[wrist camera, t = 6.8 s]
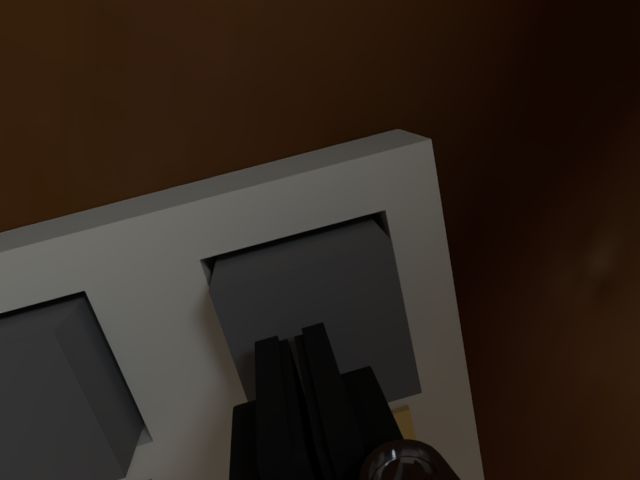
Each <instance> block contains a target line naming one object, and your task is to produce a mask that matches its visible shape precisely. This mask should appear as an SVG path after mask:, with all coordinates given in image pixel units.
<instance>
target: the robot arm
mask: <svg viewBox="0 0 640 480" xmlns="http://www.w3.org/2000/svg"><path fill="white" fill-rule="evenodd" d="M301 329H302V333H303V334H302V335H298V336H295V337H294V338H295V344H296V349H297V354H298V360H299V365H300V370H301V376H302V381H303V386H304V391H303V388H302V385H301V381H300V378H299V375H298V371H297V368H296V365H295V361H294V358H293V355H292V351H291V348H290V345H289V342H288V339H284V340H281V341H279V338H278V336H277V335H276V336H273V337H270V338H266V339H263V340H259V341H256V342H255V387H256V400H252V401H249V402H246V403H242V404H239V405H236V406H234V407H233V412H232V430H231V449H230V467H229V480H460V478H459V477H458V476H457V474H456V473H455V472H454V471H453V469H452V468H451V467H450V465H449V464H448V463H447V462H446V460H445V459H444V458H443V457H442V455H441V454H440V453H439V452H438V451H437V450H436V449H434V448H433V447H432V446H430V445H428V444H426V443H424V442H422V441H417V440H412V439H404V438H403V436H402V434H401V431H400V429H399V427H398V425H397V423H396V420H395V418H394V416H393V414H392V412H391V409H390V407H389V405H388V403H387V400H386V398H385V396H384V394H383V392H382V389H381V387H380V385H379V383H378V381H377V378H376V376H375V374H374V372H373V370H372V368H371V366H367V367H363V368H360V369H356V370H353V371H350V372H346V373H343V374H340V372H339V369H338V366H337V363H336V360H335V357H334V354H333V351H332V348H331V345H330V341H329V338H328V335H327V332H326V329H325V326H324V323H323V322H321V323H318V324H314V325H311V326H307V327H304V328H301ZM304 392H305V395H304ZM305 397H306V398H305Z"/></svg>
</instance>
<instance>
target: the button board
mask: <svg viewBox="0 0 640 480" xmlns="http://www.w3.org/2000/svg"><path fill="white" fill-rule="evenodd" d="M368 214H369V215H370V216H371V217H372V219H373V220H374V221H375V222H376V223H377V224H378V226H379V227H380V228H381V229H382V230H383V231H384V233H385V234H386V235H387V236H388V237H389V238H390V240H391V241H392V244H393V249H394V254H395V259H396V264H397V269H398V274H399V279H400V285H401V290H402V295H403V300H404V305H405V310H406V315H407V320H408V325H409V330H410V335H411V340H412V345H413V350H414V355H415V360H416V365H417V370H418V375H419V380H420V385H421V390H422V393H420V394H416V395H413V396H409V397H406V398H402V399H399V400H395V401H392V402H388V405H389V407H390V409H391V412H392V414H393V416H394V418H395V420H396V423H397V425H398V427H399V429H400V431H401V434H402V436H403V438H404V439H412V440H417V441H422V442H424V443H426V444H428V445H430V446H432V447H433V448H434V449H436V450H437V451H438V452H439V453H440V454H441V455H442V457H443V458H444V459H445V460H446V462H447V463H448V464H449V465H450V467H451V468H452V469H453V471H454V472H455V473H456V474H457V476H458V477H459V478H460V480H484V474H483V468H482V461H481V455H480V448H479V442H478V436H477V429H476V423H475V416H474V410H473V403H472V397H471V391H470V384H469V378H468V371H467V365H466V359H465V352H464V346H463V339H462V333H461V326H460V320H459V314H458V307H457V301H456V294H455V288H454V282H453V275H452V269H451V262H450V256H449V249H448V243H447V237H446V230H445V224H444V217H443V211H442V205H441V198H440V192H439V185H438V179H437V172H436V166H435V160H434V153H433V147H432V140H431V139H429V138H426V137H423V136H420V135H417V134H413V133H410V132H407V131H404V130H400V129H395V130H392V131H388V132H384V133H380V134H376V135H372V136H369V137H365V138H361V139H357V140H353V141H349V142H346V143H342V144H338V145H334V146H330V147H326V148H323V149H319V150H315V151H311V152H307V153H304V154H300V155H296V156H292V157H288V158H284V159H281V160H277V161H273V162H269V163H265V164H261V165H258V166H254V167H250V168H246V169H242V170H238V171H235V172H231V173H227V174H223V175H219V176H216V177H212V178H208V179H204V180H200V181H196V182H193V183H189V184H185V185H181V186H177V187H173V188H170V189H166V190H162V191H158V192H154V193H151V194H147V195H143V196H139V197H135V198H131V199H128V200H124V201H120V202H116V203H112V204H108V205H105V206H101V207H97V208H93V209H89V210H85V211H82V212H78V213H74V214H70V215H66V216H63V217H59V218H55V219H51V220H47V221H43V222H40V223H36V224H32V225H28V226H24V227H20V228H17V229H13V230H9V231H5V232H1V233H0V313H3V312H7V311H11V310H14V309H18V308H22V307H25V306H29V305H33V304H37V303H40V302H44V301H48V300H51V299H55V298H59V297H63V296H66V295H70V294H74V293H78V292H81V291H85V292H86V294H87V297H88V299H89V301H90V303H91V305H92V308H93V310H94V312H95V314H96V316H97V319H98V321H99V323H100V325H101V327H102V330H103V332H104V334H105V336H106V338H107V341H108V343H109V345H110V347H111V349H112V352H113V354H114V356H115V358H116V360H117V363H118V365H119V367H120V369H121V371H122V374H123V376H124V378H125V380H126V382H127V385H128V387H129V389H130V391H131V393H132V396H133V398H134V400H135V402H136V404H137V407H138V409H139V411H140V413H141V415H142V418H143V420H144V425H143V428H142V431H141V434H140V437H139V440H138V443H137V446H136V449H135V452H134V455H133V458H132V460H131V463H130V466H129V469H128V472H127V475H126V478H123V479H119V480H229V467H230V449H231V430H232V412H233V407H234V406H236V405H239V404H242V403H246V402H248V401H247V398H246V395H245V392H244V390H243V387H242V384H241V381H240V378H239V376H238V373H237V370H236V367H235V364H234V361H233V359H232V356H231V353H230V350H229V347H228V345H227V342H226V339H225V336H224V333H223V330H222V328H221V325H220V322H219V319H218V316H217V314H216V311H215V308H214V305H213V302H212V299H211V297H210V294H209V287H210V283H211V279H212V275H213V271H214V266H215V262H216V258H217V255H219V254H223V253H227V252H230V251H234V250H238V249H241V248H245V247H249V246H253V245H256V244H260V243H264V242H268V241H271V240H275V239H279V238H282V237H286V236H290V235H294V234H297V233H301V232H305V231H309V230H312V229H316V228H320V227H323V226H327V225H331V224H335V223H338V222H342V221H346V220H350V219H353V218H357V217H361V216H364V215H368Z"/></svg>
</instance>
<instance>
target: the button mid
mask: <svg viewBox="0 0 640 480" xmlns="http://www.w3.org/2000/svg"><path fill="white" fill-rule="evenodd" d="M143 425H144V420H143V418H142V415H141V413H140V411H139V409H138V407H137V404H136V402H135V400H134V398H133V396H132V393H131V391H130V389H129V387H128V385H127V382H126V380H125V378H124V376H123V374H122V371H121V369H120V367H119V365H118V363H117V360H116V358H115V356H114V354H113V352H112V349H111V347H110V345H109V343H108V341H107V338H106V336H105V334H104V332H103V330H102V327H101V325H100V323H99V321H98V319H97V316H96V314H95V312H94V310H93V308H92V305H91V303H90V301H89V299H88V297H87V294H86V292H85V291H81V292H78V293H74V294H70V295H66V296H63V297H59V298H55V299H51V300H48V301H44V302H40V303H37V304H33V305H29V306H25V307H22V308H18V309H14V310H11V311H7V312H3V313H0V480H119V479H123V478H126V475H127V472H128V469H129V466H130V463H131V460H132V458H133V455H134V452H135V449H136V446H137V443H138V440H139V437H140V434H141V431H142V428H143Z"/></svg>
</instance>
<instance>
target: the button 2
mask: <svg viewBox="0 0 640 480" xmlns="http://www.w3.org/2000/svg"><path fill="white" fill-rule="evenodd" d="M209 294H210V297H211V299H212V302H213V305H214V308H215V311H216V314H217V316H218V319H219V322H220V325H221V328H222V330H223V333H224V336H225V339H226V342H227V345H228V347H229V350H230V353H231V356H232V359H233V361H234V364H235V367H236V370H237V373H238V376H239V378H240V381H241V384H242V387H243V390H244V392H245V395H246V398H247V401H248V402H249V401H252V400H256V387H255V342H256V341H259V340H263V339H266V338H270V337H273V336H276V335H277V336H278V338H279V341H281V340H284V339H288V342H289V345H290V348H291V351H292V355H293V358H294V361H295V365H296V368H297V371H298V375H299V378H300V381H301V385H302V388H303V391H304V386H303V381H302V376H301V370H300V365H299V360H298V354H297V349H296V344H295V338H294V337H295V336H298V335H302V334H303V333H302V329H301V328H304V327H307V326H311V325H314V324H318V323H321V322H323V323H324V326H325V329H326V332H327V335H328V338H329V341H330V345H331V348H332V351H333V354H334V357H335V360H336V363H337V366H338V369H339V372H340V374H343V373H346V372H350V371H353V370H356V369H360V368H363V367H367V366H371V368H372V370H373V372H374V374H375V376H376V378H377V381H378V383H379V385H380V387H381V389H382V392H383V394H384V396H385V398H386V400H387V403H388V402H392V401H395V400H399V399H402V398H406V397H409V396H413V395H416V394H420V393H422V390H421V385H420V380H419V375H418V370H417V365H416V360H415V355H414V350H413V345H412V340H411V335H410V330H409V325H408V320H407V315H406V310H405V305H404V300H403V295H402V290H401V285H400V279H399V274H398V269H397V264H396V259H395V254H394V249H393V244H392V241H391V240H390V238H389V237H388V236H387V235H386V234H385V233H384V231H383V230H382V229H381V228H380V227H379V226H378V224H377V223H376V222H375V221H374V220H373V219H372V217H371V216H370V215H369V214H368V215H364V216H361V217H357V218H353V219H350V220H346V221H342V222H338V223H335V224H331V225H327V226H323V227H320V228H316V229H312V230H309V231H305V232H301V233H297V234H294V235H290V236H286V237H282V238H279V239H275V240H271V241H268V242H264V243H260V244H256V245H253V246H249V247H245V248H241V249H238V250H234V251H230V252H227V253H223V254H219V255H217V258H216V262H215V266H214V271H213V275H212V279H211V283H210V287H209ZM304 395H305V392H304ZM305 398H306V397H305Z"/></svg>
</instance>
